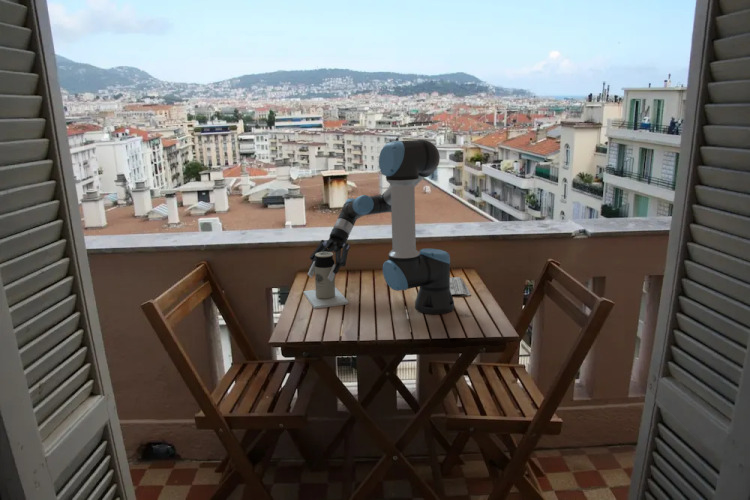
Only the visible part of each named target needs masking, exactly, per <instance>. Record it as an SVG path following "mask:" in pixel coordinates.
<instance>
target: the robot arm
mask: <svg viewBox="0 0 750 500" xmlns="http://www.w3.org/2000/svg"><path fill="white" fill-rule="evenodd" d="M378 157H379V158H378V168H379V169H380V173H381V174H382V175H383V176H384V177H385V181H386V182H387V183H389V184H390V185H389V187H388V188H387V189H386V190H385V191H384V192H383V193H382V194H379V195H373V196H372V195H371V196H369V195H367V194H362V195H360V196H359V195H358V196H357V197H356V198H352V197H351V198H347V200H346V201H345V203H343V206H342V208H341V211H340V213H339V215H338V216H337V219H336V221H335V223H334V224H333V225H334V226H333V228H332V229H331V232H330V234H329V238H328V239H327V240H325V239H321V240H320V243H319V244H318V246H317V247H316V248H315V249H314V251H313V253H311V255H310V257H309V259H310V260H311V264H310V265H309V270H308V272H307V276H309V278H313V277H314V276H315V260H316V256H315V254H316V253H318V252H331V253H333V252H334V253H335V255H334V256H335V263H334V265H333V267H332V269H331V271H330V273H329V275H328V279H329V280H330V281H332V280H333V278H334V276H336V275H337V274H338V272H339V270H340V268H342V267H343V268H344V267H346V265H347V259H348V254H349V250H350V248H351V245H350V244H349V243H348V242H347V241H348V239H349V237H350V235H351V232H352V230H353V229H354V226H355V224H356V221H357V220H359V219H360V218H361V217H364V216H371V215H377V214H384V213H390V214H391V239H392V241H391V244H392V246H391V247H392V249H391V250H390V251H389V253H388V260H386V261H384V262H383V265H382V274H383V279H384V280H385V282H386V284H387V286H388V287H389V288H390V289H391V290H392V291H407V290H410V289H413V288H418V287H419V289H418V292H417V294H416V298H415V301H414V308H415V310H416V311H418V312H419V313H422V314H428V315H444V314H447V313H451V312H452V311H454V309H455V301H454V299H453V296H452V295H451V291H450V278H451V258H450V257H451V256H450V253H449V252H447V251H445V250H442V249H437V248H421V249H419V250H417V247H416V246H417V245H416V243H417V242H416V237H417V236H416V235H417V234H416V200H415V199H416V197H415V195H416V194H415V193H416V192H415V187H417V185H419V183H420V182H422V180H423V179H424V178H428V177H430V176H431V175H432V174H433V173H435V171H436V170H437V168H439V167H438V166H439V164H440V161H441V157H440V152H439V149H438V148H437V146H436V145H435V144H434V143H433V142H431V141H429V140H427V139H413V140H411V139H410V140H396V141H391V142H387V143H386V144H384V145H383V147H382V149H380V152H379V156H378Z"/></svg>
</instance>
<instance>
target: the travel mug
mask: <svg viewBox="0 0 750 500" xmlns="http://www.w3.org/2000/svg"><path fill="white" fill-rule="evenodd" d="M315 256H316V260H315V273H314V277H315V278H314V282H315V283H314V285H315V290H316V297H318V298H322V299H327V298H332V297H334V296H335V287H336V280H335V279H336V277H335V276H336V275H335V276H334V278H333V280H332V281H330V280H329V279H328V275H329V273H330V271H331V269H332V267H333V265H334V264H335V261H334V258H333V256H334V253H333V252H318V253H316V254H315Z"/></svg>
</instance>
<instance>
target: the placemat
mask: <svg viewBox="0 0 750 500" xmlns="http://www.w3.org/2000/svg"><path fill="white" fill-rule="evenodd" d="M303 294H304V296H305V298H306V299H307V300H308V302H309V303H310V305H311V306H312V307H313V309H315V310H317V309H322V308H330V307H337V306H344V305H349V301H348V299H347V298H346V297H345V296H344V295H343V294H342V293H341V292H340V290H339V289H338V288H337V287H336V286H335V296H334V297H332V298H327V299H322V298H318V297H316V289H311V290H304V291H303Z"/></svg>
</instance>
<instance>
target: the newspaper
mask: <svg viewBox="0 0 750 500" xmlns="http://www.w3.org/2000/svg"><path fill="white" fill-rule="evenodd" d="M450 291H451V295H460V297H463V298H465V297H467V296H471V295H472V294H471V292H470V290H469V288H468V286H467V285H466V283H465V282H464V280H463V278H462V277H460V276H458V277H455V276H453V277H451V276H450Z"/></svg>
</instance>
